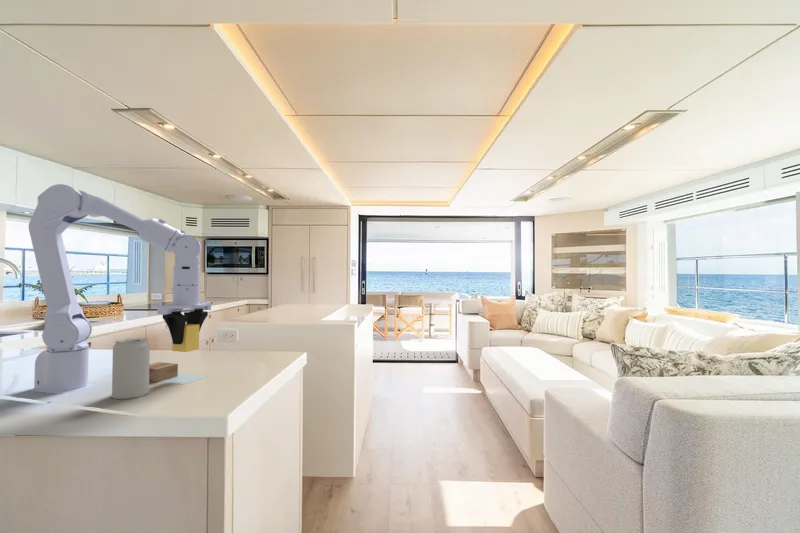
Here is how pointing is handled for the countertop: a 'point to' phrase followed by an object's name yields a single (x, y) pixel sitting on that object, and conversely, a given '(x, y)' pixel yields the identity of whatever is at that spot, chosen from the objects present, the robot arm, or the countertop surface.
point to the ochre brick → (188, 339)
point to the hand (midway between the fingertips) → (185, 342)
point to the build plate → (183, 378)
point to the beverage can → (130, 368)
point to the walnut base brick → (162, 371)
